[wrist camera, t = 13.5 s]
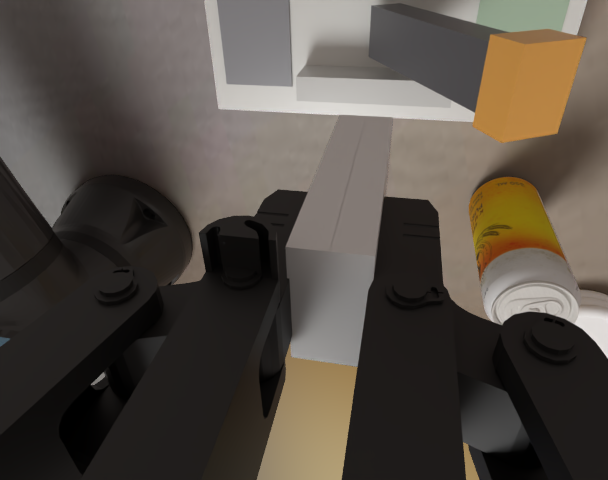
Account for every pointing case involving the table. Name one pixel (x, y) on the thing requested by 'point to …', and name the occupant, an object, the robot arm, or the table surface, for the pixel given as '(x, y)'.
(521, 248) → the beer can
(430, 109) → the breaker block
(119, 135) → the table surface
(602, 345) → the white short cylinder
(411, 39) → the lever
